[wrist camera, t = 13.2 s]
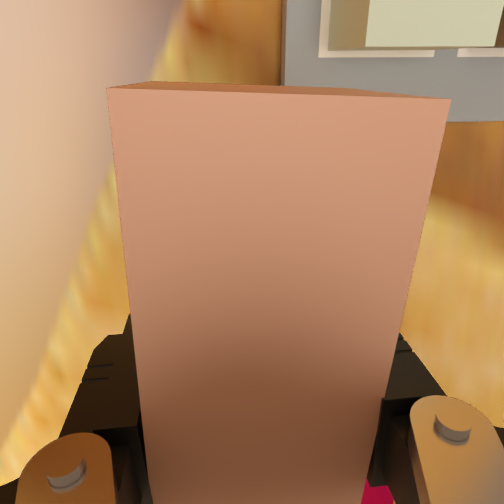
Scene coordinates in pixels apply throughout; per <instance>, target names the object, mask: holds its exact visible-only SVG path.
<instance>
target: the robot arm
mask: <svg viewBox="0 0 504 504" xmlns="http://www.w3.org/2000/svg"><path fill="white" fill-rule="evenodd" d="M366 478H367V480H368V483H369V485H370V487H378V486H386V485H388V487H389V490H390V492H391V494H392V496H393V499H394V501H393V504H504V428H499V427H495V426H493V425H492V423H491V422H490V421H489V420H488V418H487V417H486V416H485V415H484V414H483V413H481V412H480V411H479V410H477V409H476V408H475V407H473V406H471V405H470V404H468V403H466V402H464V401H461V400H458V399H456V398H452V397H448V396H447V395H446V394H445V393H444V391H443V390H442V389H441V387H440V386H439V385H438V383H437V382H436V381H435V379H434V378H433V377H432V375H431V374H430V373H429V371H428V370H427V369H426V367H425V366H424V365H423V363H422V362H421V361H420V359H419V358H418V357H417V355H416V354H415V353H414V352H412V349H411V347H410V346H409V345H408V343H407V342H406V341H405V340H403V336H402V335H401V334H400V332H399V335H398V339H397V344H396V348H395V353H394V357H393V362H392V366H391V371H390V375H389V380H388V384H387V388H386V393H385V397H384V398H382V399H381V406H380V413H379V420H378V427H377V433H376V437H375V442H374V446H373V451H372V455H371V460H370V464H369V469H368V473H367V477H366ZM0 504H153V500H152V495H151V490H150V485H149V480H148V472H147V462H146V453H145V444H144V434H143V425H142V416H141V406H140V397H139V388H138V379H137V369H136V360H135V351H134V341H133V332H132V323H131V313H130V314H129V316H128V319H127V322H126V325H125V329H124V332H123V334H116V335H108V336H107V337H106V338H105V339H104V340H103V341H102V342H101V343H100V344H99V345H98V346H97V347H96V348H95V349H94V350H93V353H92V355H91V358H90V360H89V363H88V365H87V369H86V370H85V373H84V375H83V378H82V383H80V385H79V388H78V390H77V393H76V395H75V398H74V400H73V403H72V405H71V408H70V410H69V413H68V415H67V418H66V420H65V423H64V425H63V428H62V430H61V433H60V435H59V438H58V439H56V440H54V441H52V442H51V443H49V444H48V445H46V446H45V447H43V448H42V449H41V450H39V451H38V452H37V453H36V454H35V455H34V456H33V457H32V458H31V459H30V461H29V462H28V463H27V464H26V466H25V468H24V469H23V471H22V473H21V475H20V477H19V478H18V479H16V480H14V481H12V482H9V483H7V484H5V485H2V486H0Z"/></svg>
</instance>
